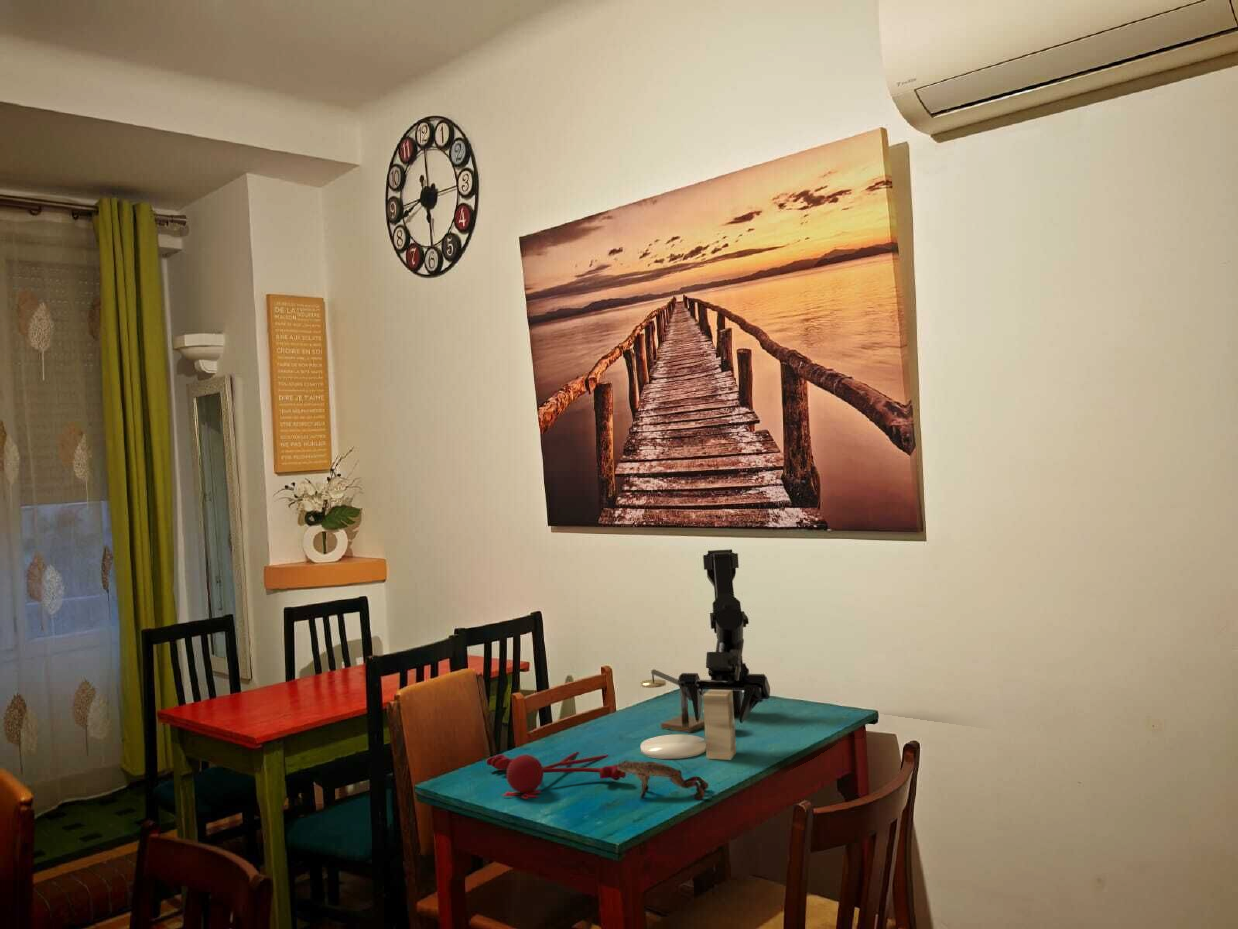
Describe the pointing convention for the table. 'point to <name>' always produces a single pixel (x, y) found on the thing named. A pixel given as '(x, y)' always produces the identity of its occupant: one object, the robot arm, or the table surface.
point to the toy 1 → (543, 771)
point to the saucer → (673, 746)
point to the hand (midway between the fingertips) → (718, 721)
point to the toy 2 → (663, 771)
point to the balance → (683, 721)
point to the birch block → (719, 724)
